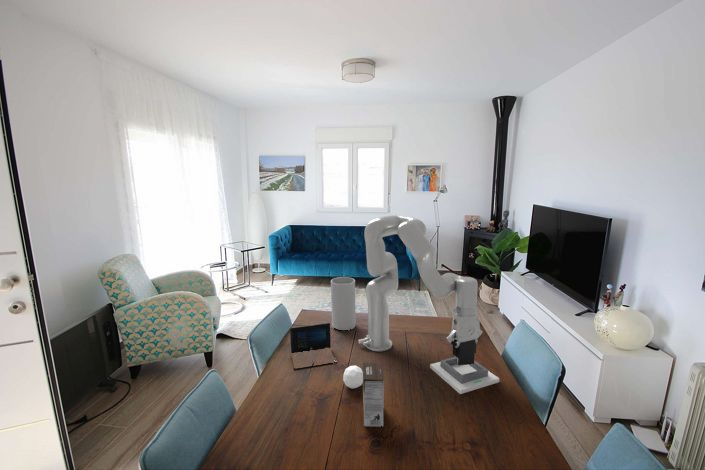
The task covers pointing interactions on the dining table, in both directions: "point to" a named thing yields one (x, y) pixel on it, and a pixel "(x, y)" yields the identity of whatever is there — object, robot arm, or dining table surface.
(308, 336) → the laptop
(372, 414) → the coffee box
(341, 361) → the dining table surface
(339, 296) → the cylinder vase
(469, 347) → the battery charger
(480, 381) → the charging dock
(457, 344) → the robot arm
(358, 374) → the geometric ball
